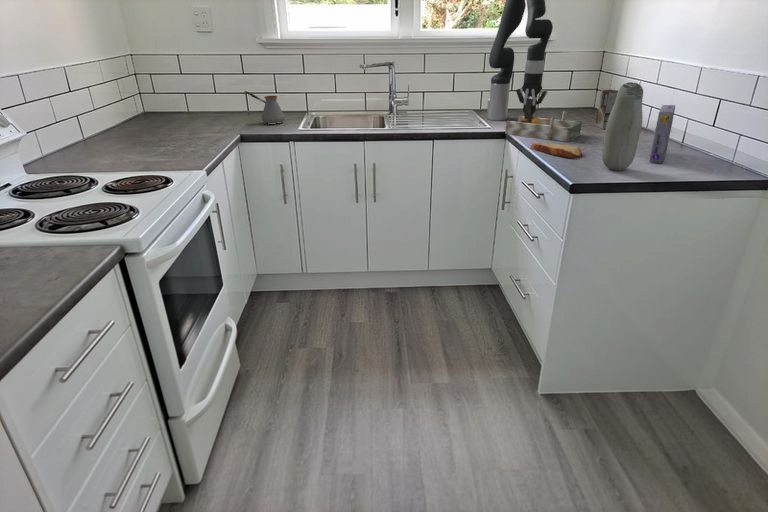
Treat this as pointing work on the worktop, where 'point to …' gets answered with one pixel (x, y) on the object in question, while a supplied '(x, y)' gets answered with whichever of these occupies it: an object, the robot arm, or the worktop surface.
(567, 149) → the bread slice
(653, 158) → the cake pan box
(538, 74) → the robot arm
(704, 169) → the worktop surface
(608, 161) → the grey bottle
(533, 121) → the ball
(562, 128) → the beige and green tray
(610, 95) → the coffee box
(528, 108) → the block
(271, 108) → the coffee pot
